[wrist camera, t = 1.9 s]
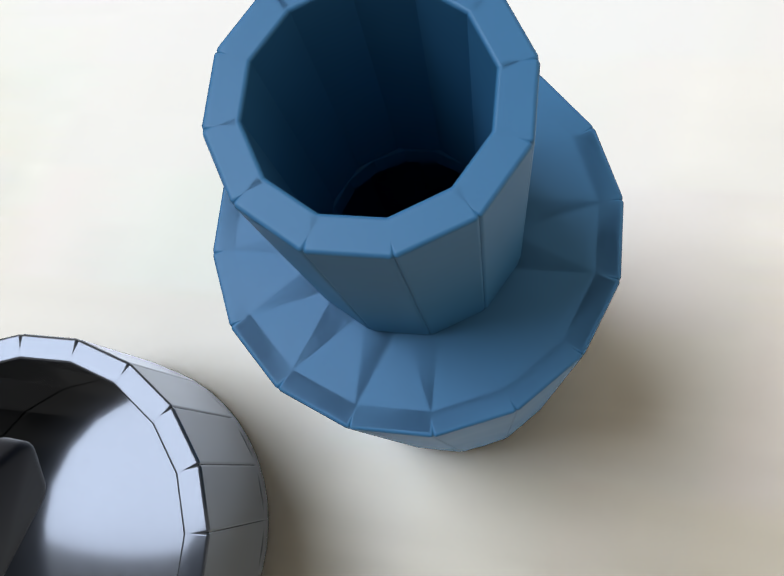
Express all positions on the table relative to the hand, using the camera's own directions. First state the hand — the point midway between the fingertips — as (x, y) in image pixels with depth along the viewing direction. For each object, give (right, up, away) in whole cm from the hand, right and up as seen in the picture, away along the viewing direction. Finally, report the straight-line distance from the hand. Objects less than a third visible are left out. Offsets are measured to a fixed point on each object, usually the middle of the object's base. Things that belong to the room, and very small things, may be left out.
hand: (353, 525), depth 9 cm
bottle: (+2, +2, +11) cm, 11 cm away
